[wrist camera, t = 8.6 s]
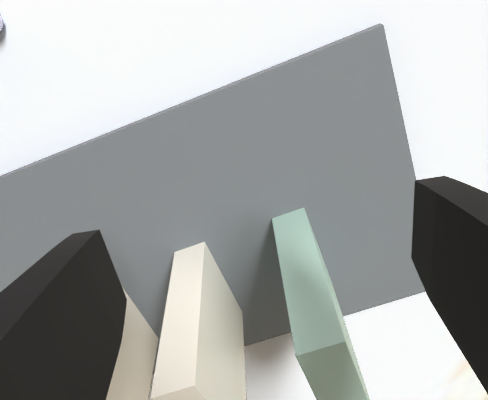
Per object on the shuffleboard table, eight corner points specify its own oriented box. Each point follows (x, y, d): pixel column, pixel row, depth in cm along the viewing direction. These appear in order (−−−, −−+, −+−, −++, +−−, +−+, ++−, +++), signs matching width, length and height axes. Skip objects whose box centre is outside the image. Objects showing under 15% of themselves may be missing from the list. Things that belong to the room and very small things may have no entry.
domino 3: (303, 292, 23) (337, 442, 16) (271, 218, 20) (295, 355, 14) (332, 283, 23) (380, 431, 16) (303, 207, 20) (345, 341, 13)
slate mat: (-206, 259, 21) (-213, 264, 21) (380, 23, 17) (383, 25, 16) (-18, 420, 28) (-21, 426, 27) (435, 282, 23) (438, 287, 23)
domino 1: (132, 346, 24) (96, 503, 17) (84, 283, 22) (20, 436, 15) (158, 338, 24) (131, 495, 17) (112, 273, 22) (60, 424, 15)
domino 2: (214, 320, 24) (210, 474, 17) (174, 252, 21) (150, 398, 14) (242, 311, 23) (249, 464, 16) (204, 241, 21) (194, 385, 14)
